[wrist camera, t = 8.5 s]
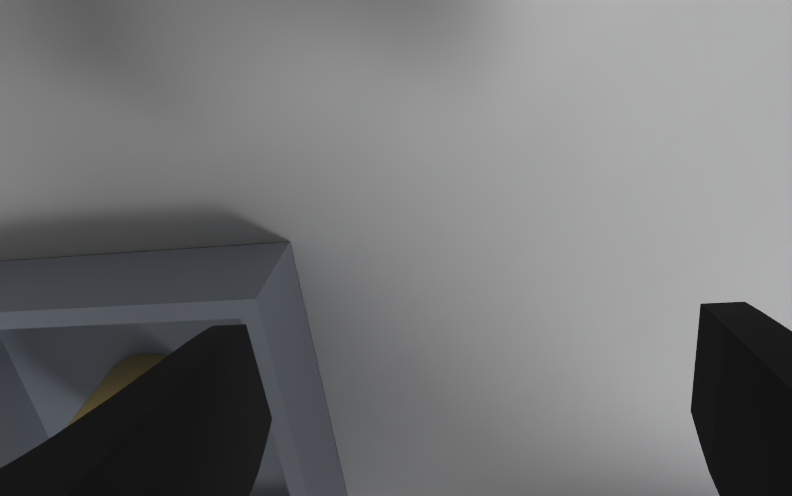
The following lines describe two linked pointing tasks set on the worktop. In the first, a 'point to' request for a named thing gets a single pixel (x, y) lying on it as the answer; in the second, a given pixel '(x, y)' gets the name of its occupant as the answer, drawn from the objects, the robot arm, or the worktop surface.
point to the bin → (163, 344)
